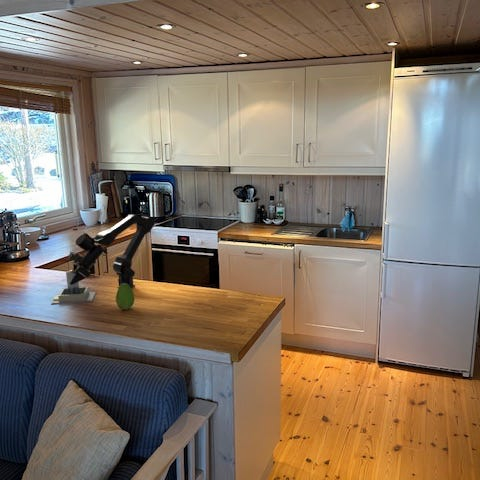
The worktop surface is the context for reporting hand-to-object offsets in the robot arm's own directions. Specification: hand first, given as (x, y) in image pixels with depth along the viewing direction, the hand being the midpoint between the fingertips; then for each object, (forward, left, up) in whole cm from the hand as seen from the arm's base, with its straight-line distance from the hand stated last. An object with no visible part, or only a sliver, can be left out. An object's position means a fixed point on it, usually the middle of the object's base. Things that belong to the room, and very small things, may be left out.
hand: (69, 281), depth 224 cm
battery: (+20, -38, -9) cm, 44 cm away
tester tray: (-1, -1, -8) cm, 8 cm away
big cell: (-1, -1, -8) cm, 8 cm away
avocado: (-33, +4, -9) cm, 34 cm away
